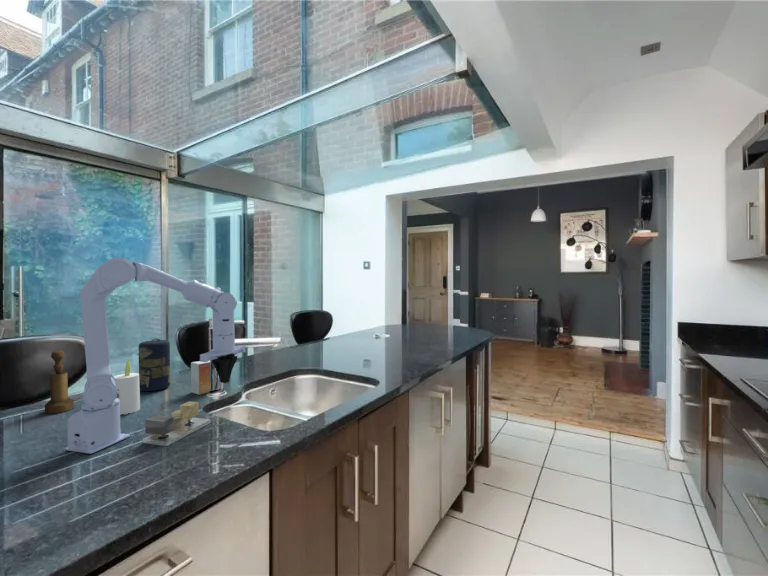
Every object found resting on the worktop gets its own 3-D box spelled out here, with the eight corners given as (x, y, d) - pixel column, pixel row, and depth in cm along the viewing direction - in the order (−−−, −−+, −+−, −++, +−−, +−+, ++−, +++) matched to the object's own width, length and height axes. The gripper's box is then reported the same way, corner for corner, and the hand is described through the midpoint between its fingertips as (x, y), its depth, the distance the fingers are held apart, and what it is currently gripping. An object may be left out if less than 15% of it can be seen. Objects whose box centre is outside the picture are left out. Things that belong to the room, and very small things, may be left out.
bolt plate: (167, 446, 85) (166, 441, 85) (143, 442, 87) (142, 438, 87) (210, 423, 98) (210, 419, 98) (188, 420, 100) (188, 416, 100)
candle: (107, 414, 106) (106, 362, 106) (128, 406, 112) (127, 357, 112) (125, 415, 104) (123, 363, 104) (145, 408, 111) (143, 358, 110)
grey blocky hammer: (163, 440, 86) (163, 421, 86) (145, 438, 87) (144, 419, 87) (202, 420, 98) (202, 403, 98) (186, 418, 99) (186, 402, 99)
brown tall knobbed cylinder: (79, 406, 113) (77, 348, 112) (59, 414, 106) (57, 352, 106) (60, 405, 114) (58, 348, 113) (38, 413, 107) (36, 352, 107)
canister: (132, 391, 127) (131, 340, 127) (156, 384, 137) (155, 336, 136) (153, 393, 125) (152, 341, 124) (177, 386, 134) (175, 336, 133)
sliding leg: (190, 425, 94) (189, 406, 93) (171, 423, 95) (171, 404, 95) (198, 420, 96) (198, 402, 96) (181, 418, 98) (180, 400, 98)
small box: (198, 395, 122) (198, 364, 122) (190, 392, 126) (190, 362, 126) (221, 389, 129) (221, 359, 129) (213, 386, 132) (213, 357, 132)
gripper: (232, 330, 112) (233, 374, 112) (191, 337, 99) (192, 387, 99) (250, 331, 109) (251, 376, 109) (210, 338, 96) (211, 390, 96)
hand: (224, 382), depth 104 cm, fingers closed
